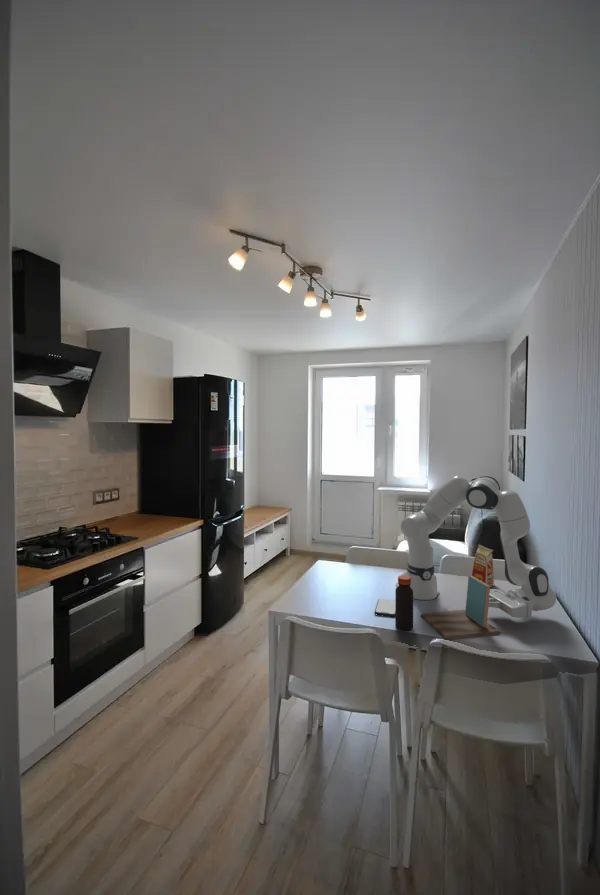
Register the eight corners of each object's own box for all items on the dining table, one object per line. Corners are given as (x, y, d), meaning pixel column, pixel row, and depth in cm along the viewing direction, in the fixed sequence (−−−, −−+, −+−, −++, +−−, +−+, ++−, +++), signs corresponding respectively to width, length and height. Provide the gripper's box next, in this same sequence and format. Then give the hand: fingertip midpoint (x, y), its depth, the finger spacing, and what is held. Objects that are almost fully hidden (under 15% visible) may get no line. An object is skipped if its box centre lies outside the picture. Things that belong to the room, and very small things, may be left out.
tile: (464, 614, 176) (468, 575, 175) (468, 614, 176) (472, 575, 176) (482, 627, 164) (486, 586, 164) (486, 627, 164) (490, 586, 164)
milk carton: (470, 585, 213) (470, 545, 212) (478, 580, 219) (479, 542, 218) (488, 590, 206) (488, 549, 206) (496, 585, 213) (497, 545, 212)
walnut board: (420, 616, 178) (420, 613, 178) (468, 611, 182) (468, 609, 182) (445, 639, 158) (445, 636, 158) (499, 633, 162) (499, 630, 162)
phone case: (378, 602, 194) (374, 615, 179) (378, 598, 194) (374, 612, 179) (398, 604, 192) (395, 618, 177) (398, 600, 192) (395, 614, 177)
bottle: (410, 623, 171) (410, 574, 170) (415, 631, 164) (415, 580, 164) (393, 623, 171) (393, 574, 170) (397, 631, 164) (398, 580, 163)
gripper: (500, 584, 183) (470, 586, 181) (534, 603, 163) (502, 606, 161) (499, 598, 184) (470, 601, 181) (534, 619, 164) (502, 622, 161)
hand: (485, 603), depth 171 cm, fingers closed
